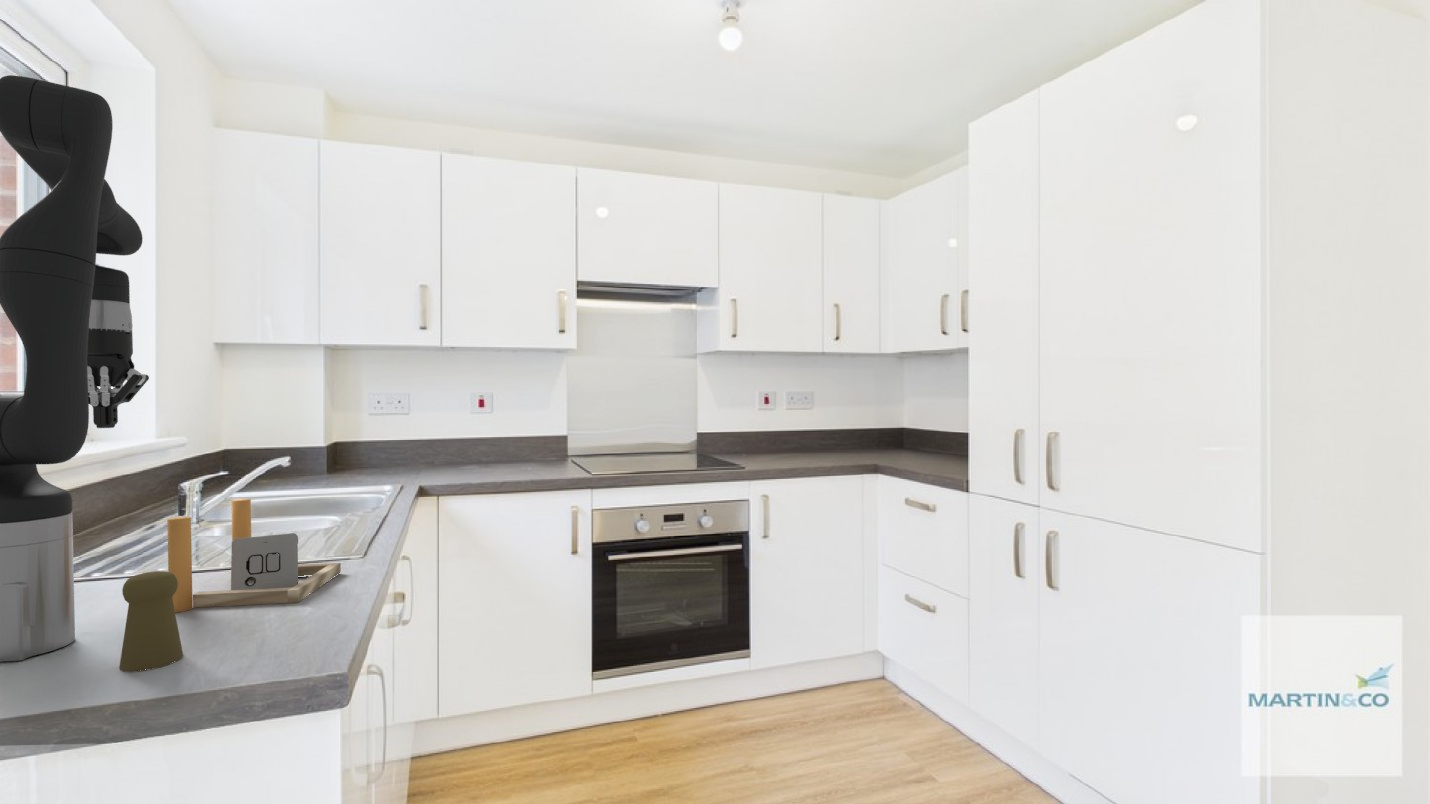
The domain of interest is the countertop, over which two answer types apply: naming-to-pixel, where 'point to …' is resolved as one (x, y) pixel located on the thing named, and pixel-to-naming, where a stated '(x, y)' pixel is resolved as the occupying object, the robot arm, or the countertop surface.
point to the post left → (180, 561)
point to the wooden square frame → (273, 595)
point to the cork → (150, 622)
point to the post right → (241, 518)
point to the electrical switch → (265, 562)
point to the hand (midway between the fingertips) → (106, 427)
